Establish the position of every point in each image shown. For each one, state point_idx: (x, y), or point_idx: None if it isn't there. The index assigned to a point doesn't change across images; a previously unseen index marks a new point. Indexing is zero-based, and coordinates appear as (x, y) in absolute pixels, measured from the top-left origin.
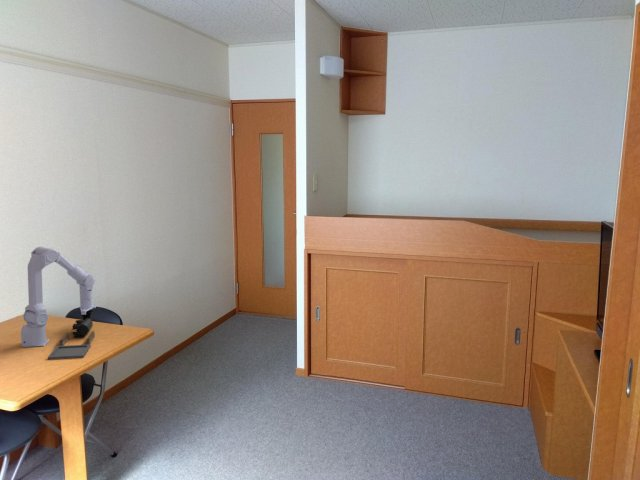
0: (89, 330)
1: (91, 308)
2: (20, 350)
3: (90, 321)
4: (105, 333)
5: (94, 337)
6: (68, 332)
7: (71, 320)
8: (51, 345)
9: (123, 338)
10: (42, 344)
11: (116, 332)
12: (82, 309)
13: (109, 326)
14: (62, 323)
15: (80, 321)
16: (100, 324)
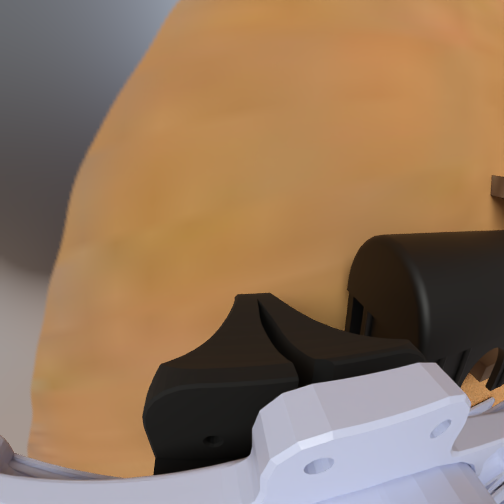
0: (496, 230)
1: (466, 426)
2: None
3: (462, 267)
4: (431, 91)
5: (496, 176)
6: (485, 368)
7: (56, 435)
8: None
9: (495, 4)
10: (487, 408)
11: (409, 7)
12: (489, 489)
13: (215, 63)
14: (124, 469)
15: (463, 372)
16: (123, 187)
